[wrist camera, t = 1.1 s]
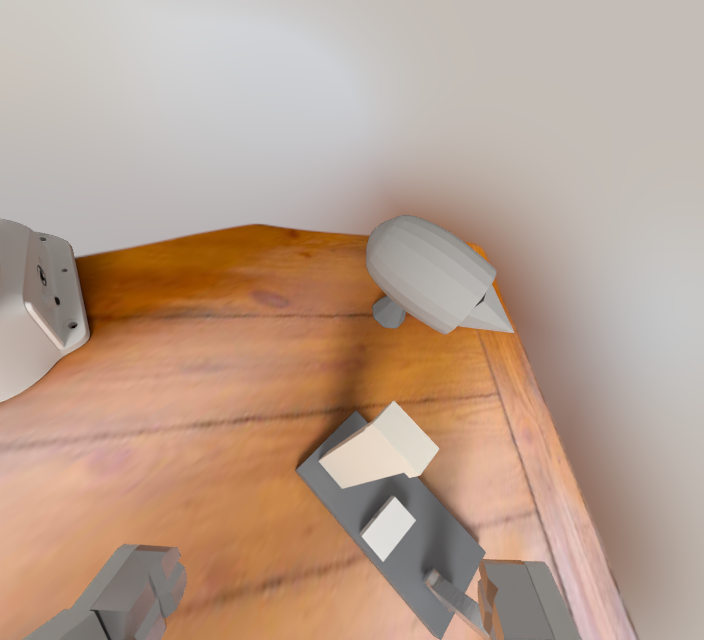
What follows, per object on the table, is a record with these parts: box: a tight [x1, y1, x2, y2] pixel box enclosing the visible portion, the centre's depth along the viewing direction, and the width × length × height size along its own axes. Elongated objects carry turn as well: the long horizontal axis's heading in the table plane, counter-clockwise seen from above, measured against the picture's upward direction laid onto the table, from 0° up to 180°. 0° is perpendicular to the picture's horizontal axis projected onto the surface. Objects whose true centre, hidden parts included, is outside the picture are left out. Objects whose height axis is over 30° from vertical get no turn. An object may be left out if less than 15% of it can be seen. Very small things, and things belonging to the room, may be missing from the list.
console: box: [295, 411, 486, 640], centre depth 39 cm, size 10×22×2 cm, turn 45°
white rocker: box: [359, 495, 416, 562], centre depth 36 cm, size 5×3×1 cm, turn 135°
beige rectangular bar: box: [319, 401, 439, 489], centre depth 31 cm, size 2×4×19 cm, turn 45°
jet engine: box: [366, 215, 514, 335], centre depth 47 cm, size 15×20×18 cm
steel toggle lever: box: [422, 566, 490, 640], centre depth 27 cm, size 3×4×19 cm
